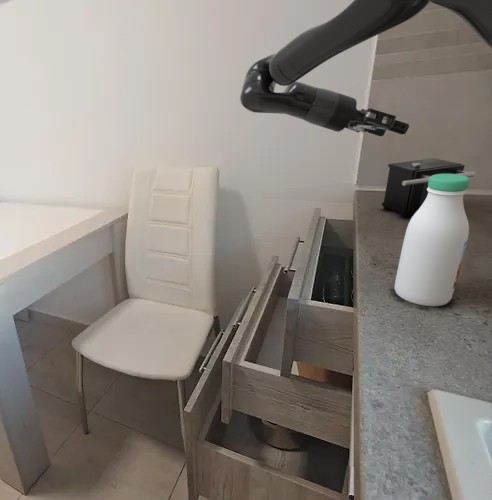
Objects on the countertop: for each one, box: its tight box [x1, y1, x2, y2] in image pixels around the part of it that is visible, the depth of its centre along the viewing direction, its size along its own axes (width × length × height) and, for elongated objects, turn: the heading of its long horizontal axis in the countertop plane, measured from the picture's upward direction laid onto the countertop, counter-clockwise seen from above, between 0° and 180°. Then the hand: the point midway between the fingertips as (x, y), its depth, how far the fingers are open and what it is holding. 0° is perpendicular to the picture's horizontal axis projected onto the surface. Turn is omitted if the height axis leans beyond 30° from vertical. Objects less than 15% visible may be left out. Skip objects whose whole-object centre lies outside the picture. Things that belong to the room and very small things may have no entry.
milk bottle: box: [393, 174, 471, 307], centre depth 57 cm, size 8×8×20 cm
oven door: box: [402, 164, 476, 212], centre depth 85 cm, size 4×17×10 cm, turn 96°
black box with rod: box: [381, 157, 463, 219], centre depth 92 cm, size 8×12×13 cm
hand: (394, 131), depth 83 cm, fingers open, 8 cm apart
